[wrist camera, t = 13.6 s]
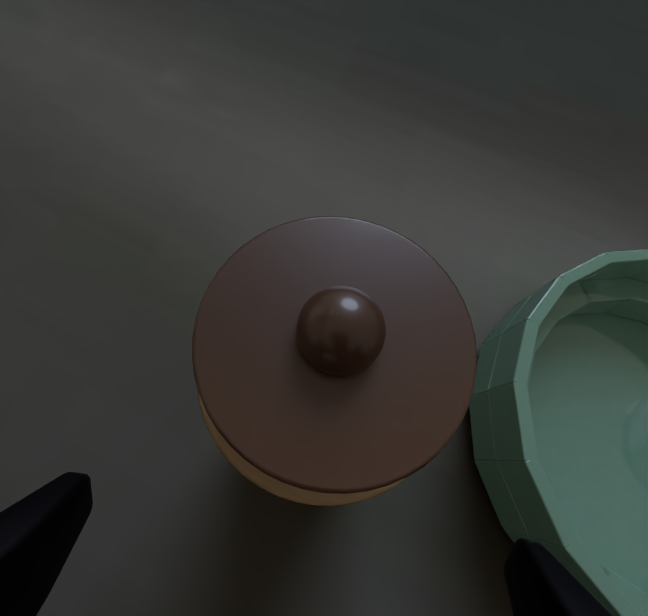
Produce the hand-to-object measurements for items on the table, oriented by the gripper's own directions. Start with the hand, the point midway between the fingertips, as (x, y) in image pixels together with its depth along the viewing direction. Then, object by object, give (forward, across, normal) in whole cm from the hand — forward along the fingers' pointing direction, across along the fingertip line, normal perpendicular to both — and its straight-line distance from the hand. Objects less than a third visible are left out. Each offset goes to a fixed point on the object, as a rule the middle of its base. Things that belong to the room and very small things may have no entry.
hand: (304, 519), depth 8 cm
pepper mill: (+7, 0, +3) cm, 8 cm away
